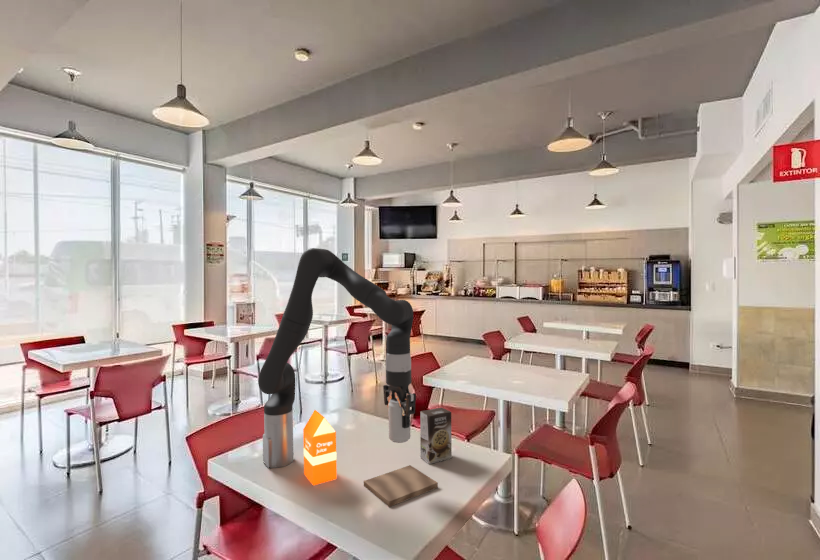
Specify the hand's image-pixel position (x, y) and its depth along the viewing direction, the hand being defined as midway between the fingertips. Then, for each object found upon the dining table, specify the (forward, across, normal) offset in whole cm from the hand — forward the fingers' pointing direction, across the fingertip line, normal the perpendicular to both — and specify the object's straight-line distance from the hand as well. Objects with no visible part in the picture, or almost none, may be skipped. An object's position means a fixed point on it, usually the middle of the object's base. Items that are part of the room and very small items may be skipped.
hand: (399, 423), depth 123 cm
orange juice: (+19, -20, -16) cm, 32 cm away
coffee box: (+19, -8, +21) cm, 29 cm away
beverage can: (+5, 0, 0) cm, 5 cm away
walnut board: (+19, 0, 0) cm, 19 cm away
